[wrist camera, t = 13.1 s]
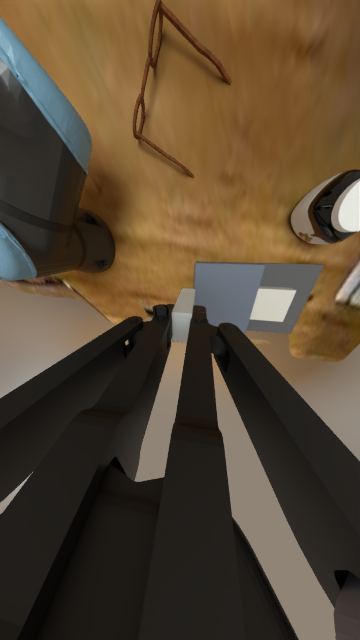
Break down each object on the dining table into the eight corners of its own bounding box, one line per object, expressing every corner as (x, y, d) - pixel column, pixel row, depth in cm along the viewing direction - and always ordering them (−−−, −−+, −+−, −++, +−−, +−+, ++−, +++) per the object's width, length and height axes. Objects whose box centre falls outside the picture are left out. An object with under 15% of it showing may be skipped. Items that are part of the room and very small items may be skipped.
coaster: (246, 315, 41) (249, 319, 39) (255, 286, 37) (258, 288, 35) (278, 317, 40) (282, 321, 38) (290, 287, 36) (296, 290, 34)
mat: (242, 329, 44) (242, 329, 44) (260, 263, 34) (260, 263, 34) (289, 332, 42) (290, 333, 42) (322, 264, 33) (324, 264, 32)
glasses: (162, 30, 21) (152, -24, 17) (231, 83, 23) (238, 45, 19) (137, 144, 28) (126, 125, 23) (193, 180, 29) (191, 168, 25)
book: (192, 325, 46) (191, 331, 42) (196, 261, 36) (195, 263, 33) (241, 329, 44) (244, 336, 41) (258, 263, 35) (265, 264, 31)
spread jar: (279, 217, 30) (319, 202, 20) (338, 157, 25) (433, 96, 15) (309, 255, 32) (358, 260, 22) (368, 209, 27) (466, 187, 17)
